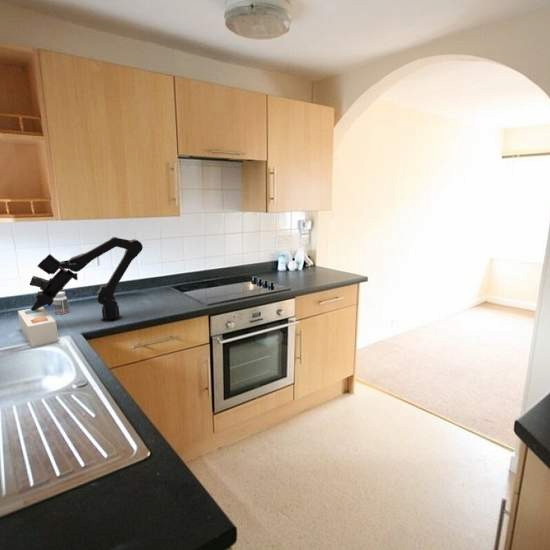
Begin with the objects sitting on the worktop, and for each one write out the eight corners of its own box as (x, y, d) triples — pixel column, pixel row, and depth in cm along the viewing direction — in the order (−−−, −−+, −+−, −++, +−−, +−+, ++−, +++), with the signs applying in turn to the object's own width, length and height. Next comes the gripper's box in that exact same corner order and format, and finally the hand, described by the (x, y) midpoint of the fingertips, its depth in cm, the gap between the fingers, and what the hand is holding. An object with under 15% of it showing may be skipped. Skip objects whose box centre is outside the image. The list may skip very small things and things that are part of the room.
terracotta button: (49, 323, 145) (48, 317, 145) (40, 327, 141) (39, 321, 140) (40, 322, 146) (39, 316, 146) (30, 326, 142) (29, 320, 141)
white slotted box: (20, 329, 157) (17, 310, 155) (45, 324, 163) (42, 306, 161) (31, 347, 138) (27, 326, 136) (58, 340, 144) (55, 321, 142)
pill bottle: (66, 310, 183) (63, 290, 181) (71, 312, 179) (68, 292, 177) (53, 313, 178) (50, 293, 176) (58, 315, 175) (55, 294, 173)
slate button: (42, 314, 156) (41, 309, 156) (33, 318, 152) (32, 312, 151) (33, 314, 157) (32, 308, 157) (24, 317, 153) (23, 311, 152)
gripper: (43, 265, 161) (17, 293, 158) (39, 273, 145) (9, 304, 142) (66, 281, 166) (41, 308, 163) (64, 290, 150) (36, 320, 147)
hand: (32, 309), depth 154 cm, fingers closed, pressing on slate button
